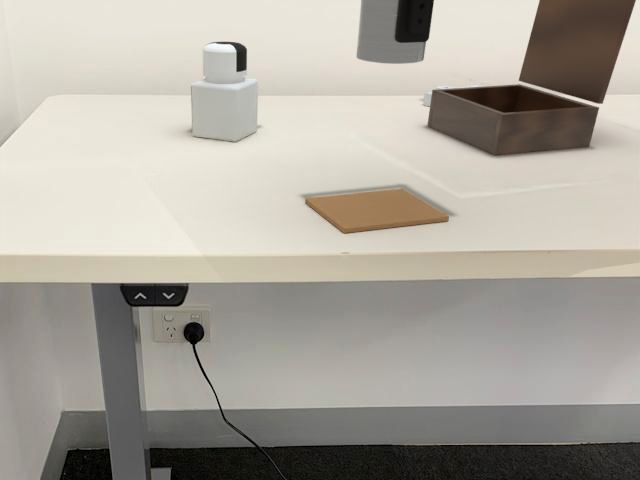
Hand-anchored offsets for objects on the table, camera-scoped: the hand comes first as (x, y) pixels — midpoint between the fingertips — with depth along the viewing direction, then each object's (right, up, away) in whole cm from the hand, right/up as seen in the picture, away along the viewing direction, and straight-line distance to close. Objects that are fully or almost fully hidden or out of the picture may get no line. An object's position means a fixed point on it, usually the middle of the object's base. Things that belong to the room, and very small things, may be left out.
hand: (392, 34), depth 71 cm
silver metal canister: (0, -2, +1) cm, 2 cm away
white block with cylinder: (-17, +4, +37) cm, 41 cm away
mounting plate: (+25, +14, +54) cm, 61 cm away
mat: (0, -14, +9) cm, 17 cm away
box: (+23, +2, +34) cm, 41 cm away
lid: (+30, +15, +29) cm, 44 cm away
